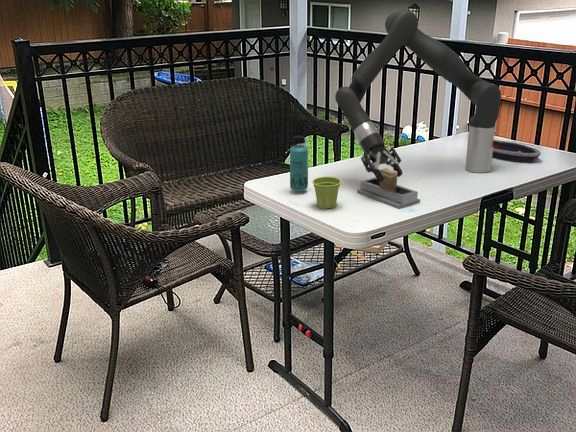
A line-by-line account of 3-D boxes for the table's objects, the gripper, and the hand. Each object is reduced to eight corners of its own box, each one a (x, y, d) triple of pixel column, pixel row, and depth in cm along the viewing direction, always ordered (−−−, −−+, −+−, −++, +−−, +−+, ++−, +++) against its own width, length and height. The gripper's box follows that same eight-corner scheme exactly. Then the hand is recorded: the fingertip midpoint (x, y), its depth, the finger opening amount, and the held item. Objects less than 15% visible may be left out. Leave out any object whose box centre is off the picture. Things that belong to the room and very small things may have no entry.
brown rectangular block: (385, 191, 206) (386, 168, 202) (396, 195, 202) (397, 171, 199) (379, 193, 204) (380, 169, 201) (389, 197, 200) (391, 173, 197)
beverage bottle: (289, 189, 213) (288, 134, 206) (307, 188, 214) (307, 133, 206) (290, 195, 207) (289, 139, 200) (309, 194, 208) (309, 138, 200)
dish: (526, 167, 232) (528, 155, 230) (460, 151, 255) (462, 140, 253) (547, 160, 241) (549, 148, 239) (482, 145, 264) (483, 134, 262)
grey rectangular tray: (377, 186, 213) (378, 176, 212) (420, 202, 198) (420, 190, 197) (357, 192, 208) (357, 182, 207) (398, 209, 193) (399, 197, 191)
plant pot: (332, 213, 191) (332, 187, 188) (307, 207, 195) (307, 182, 192) (345, 204, 198) (346, 179, 195) (320, 199, 203) (321, 175, 200)
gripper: (358, 135, 197) (382, 176, 193) (389, 128, 205) (412, 168, 200) (347, 147, 203) (370, 188, 199) (378, 140, 211) (400, 179, 206)
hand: (391, 178), depth 200 cm, fingers open, 8 cm apart
